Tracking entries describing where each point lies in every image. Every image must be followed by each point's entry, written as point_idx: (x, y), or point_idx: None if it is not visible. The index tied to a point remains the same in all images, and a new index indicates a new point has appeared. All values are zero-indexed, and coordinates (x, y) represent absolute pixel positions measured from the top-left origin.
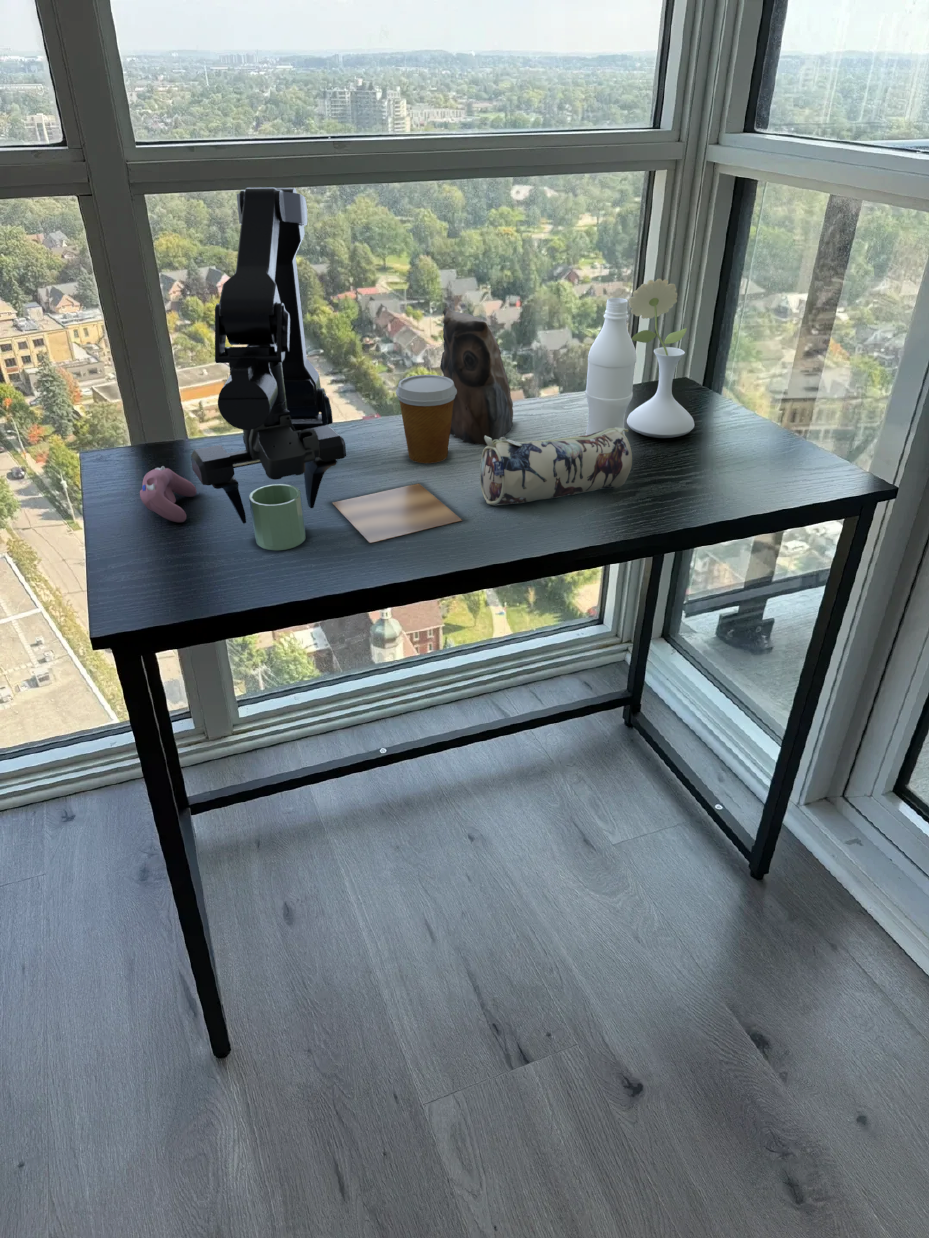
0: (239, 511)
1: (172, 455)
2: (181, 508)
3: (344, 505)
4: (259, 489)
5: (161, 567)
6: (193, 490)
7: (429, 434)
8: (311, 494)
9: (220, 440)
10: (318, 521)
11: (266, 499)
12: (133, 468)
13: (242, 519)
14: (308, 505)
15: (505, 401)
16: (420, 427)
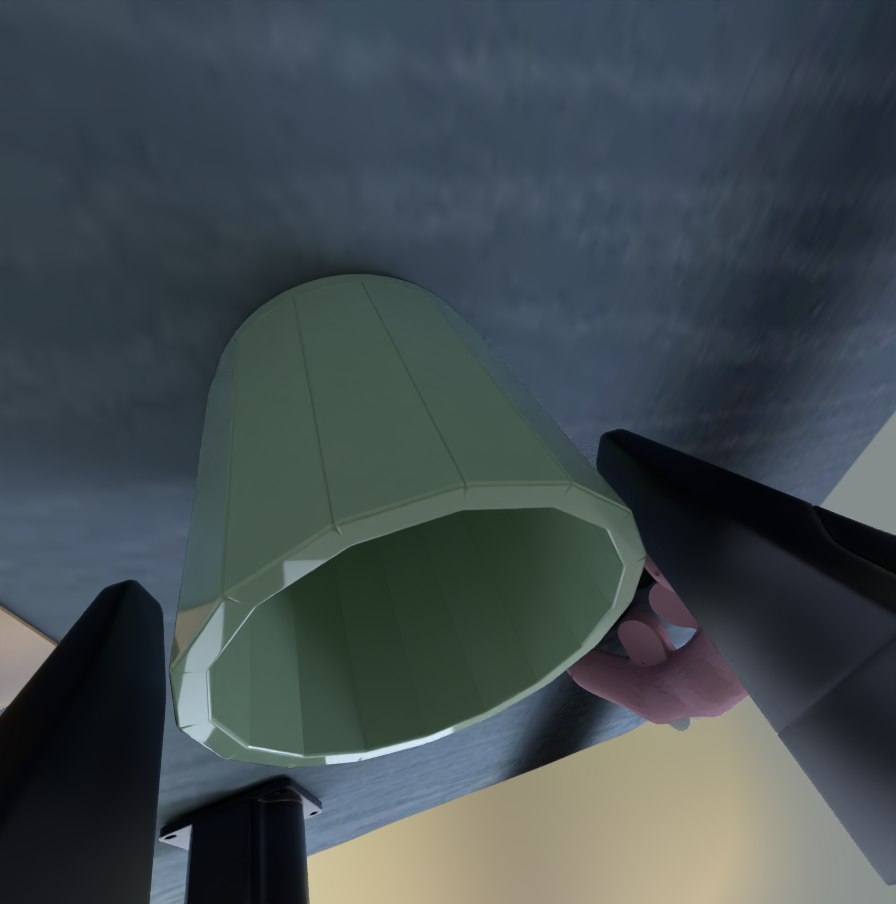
0: (712, 473)
1: (540, 747)
2: (669, 586)
3: (14, 666)
4: (519, 690)
5: (864, 269)
6: (576, 665)
7: None
8: (58, 710)
9: (443, 798)
10: (150, 548)
11: (450, 629)
12: (616, 706)
13: (644, 441)
14: (158, 609)
15: None
16: None
